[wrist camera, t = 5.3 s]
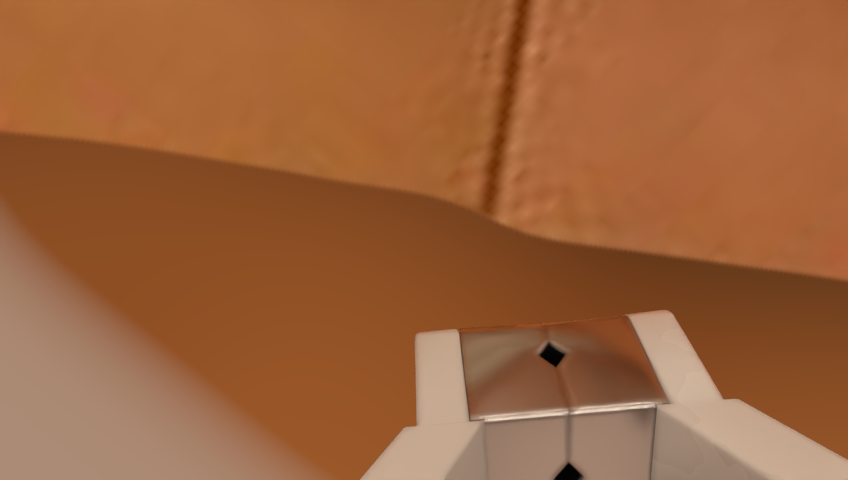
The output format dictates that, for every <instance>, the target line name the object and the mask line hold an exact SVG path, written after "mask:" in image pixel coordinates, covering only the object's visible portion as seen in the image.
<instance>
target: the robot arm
mask: <svg viewBox="0 0 848 480" xmlns="http://www.w3.org/2000/svg"><path fill="white" fill-rule="evenodd" d="M459 335H460V337H459ZM415 370H416V413H417V414H416V415H417V426H413V427H405V428H403V429H402V430H401V431H400V433H399V434H398V435H397V436H396V437H395V439H394V440H393V441H392V442H391V443H390V444H389V446H388V447H387V448H386V449H385V450H384V452H383V453H382V454H381V455H380V457H379V458H378V459H377V460H376V461H375V462H374V463H373V465H372V466H371V467H370V468H369V469H368V471H367V472H366V473H365V474H364V475H363V476H362V478H361V479H360V480H848V460H847V459H845V458H843V457H841V456H840V455H838V454H836V453H834V452H832V451H831V450H829V449H827V448H825V447H824V446H822V445H820V444H818V443H816V442H815V441H813V440H811V439H809V438H807V437H806V436H804V435H802V434H800V433H798V432H796V431H794V430H793V429H791V428H789V427H788V426H786V425H784V424H782V423H780V422H779V421H777V420H775V419H773V418H771V417H770V416H768V415H766V414H764V413H762V412H761V411H759V410H757V409H755V408H753V407H752V406H750V405H748V404H746V403H744V402H742V401H741V400H739V399H727V400H724V399H723V397H722V396H721V394H720V392H719V390H718V389H717V387H716V385H715V384H714V382H713V380H712V379H711V377H710V375H709V374H708V372H707V370H706V369H705V367H704V366H703V364H702V362H701V360H700V359H699V357H698V355H697V354H696V352H695V350H694V349H693V347H692V345H691V344H690V342H689V340H688V338H687V337H686V335H685V333H684V332H683V330H682V328H681V327H680V325H679V323H678V322H677V320H676V318H675V317H674V315H673V314H672V313H671V312H669V311H667V310H660V311H651V312H643V313H634V314H626V315H624V316H619V317H608V318H598V319H588V320H577V321H567V322H558V323H547V324H542V323H536V324H522V325H507V326H493V327H478V328H464V329H459V332H458V331H457V330H456V329H450V330H439V331H427V332H417V334H416V337H415Z"/></svg>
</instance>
